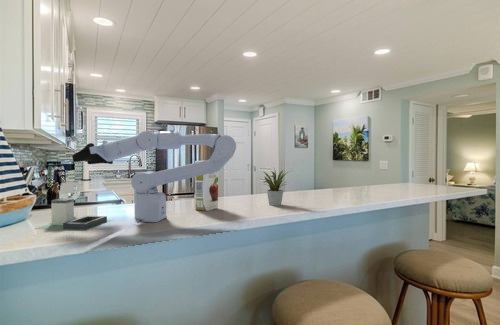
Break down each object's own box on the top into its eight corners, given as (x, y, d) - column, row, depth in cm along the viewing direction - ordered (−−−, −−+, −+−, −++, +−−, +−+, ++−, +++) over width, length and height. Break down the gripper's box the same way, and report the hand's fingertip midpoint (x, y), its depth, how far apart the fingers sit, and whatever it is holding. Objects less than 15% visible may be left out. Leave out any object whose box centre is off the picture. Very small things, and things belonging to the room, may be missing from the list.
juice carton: (191, 209, 109) (191, 160, 108) (205, 206, 116) (205, 160, 116) (207, 211, 105) (207, 160, 105) (220, 208, 113) (220, 160, 112)
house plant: (293, 202, 127) (294, 166, 127) (295, 207, 113) (296, 167, 113) (262, 201, 129) (262, 165, 128) (260, 207, 115) (260, 167, 114)
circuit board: (112, 223, 87) (112, 215, 87) (86, 233, 75) (86, 224, 75) (67, 222, 88) (66, 214, 88) (34, 232, 76) (34, 223, 76)
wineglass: (62, 216, 96) (62, 181, 96) (82, 215, 98) (81, 180, 98) (57, 220, 91) (57, 182, 90) (78, 218, 93) (78, 182, 92)
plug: (73, 222, 83) (73, 199, 83) (66, 225, 80) (66, 200, 80) (57, 222, 84) (57, 198, 83) (49, 224, 81) (49, 200, 80)
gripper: (128, 140, 99) (90, 151, 99) (107, 132, 84) (63, 144, 84) (133, 159, 98) (95, 170, 98) (112, 154, 84) (68, 167, 83)
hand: (80, 160), depth 91 cm, fingers open, 7 cm apart
